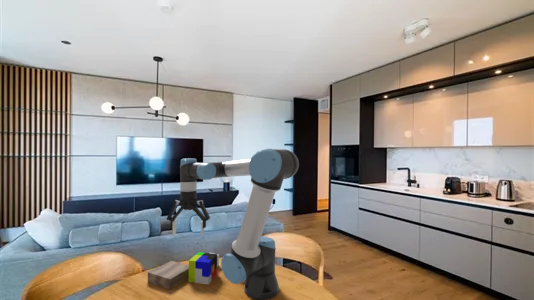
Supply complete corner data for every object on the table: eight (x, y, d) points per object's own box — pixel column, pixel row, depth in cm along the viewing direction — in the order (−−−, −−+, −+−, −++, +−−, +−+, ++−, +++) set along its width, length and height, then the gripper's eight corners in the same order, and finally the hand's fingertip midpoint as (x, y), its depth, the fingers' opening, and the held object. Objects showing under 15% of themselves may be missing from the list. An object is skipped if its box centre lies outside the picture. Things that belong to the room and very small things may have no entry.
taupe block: (192, 276, 124) (192, 266, 124) (169, 290, 111) (170, 279, 111) (170, 270, 130) (171, 260, 130) (147, 283, 117) (147, 272, 117)
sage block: (218, 265, 135) (219, 254, 135) (211, 270, 130) (212, 258, 130) (209, 263, 138) (210, 252, 138) (202, 268, 132) (202, 256, 132)
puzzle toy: (208, 284, 116) (208, 262, 116) (188, 281, 118) (188, 260, 118) (217, 274, 126) (217, 254, 126) (198, 271, 128) (198, 252, 128)
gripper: (216, 189, 125) (216, 232, 125) (166, 189, 126) (166, 232, 125) (212, 191, 118) (212, 237, 117) (159, 191, 118) (159, 237, 118)
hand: (188, 234), depth 121 cm, fingers open, 13 cm apart
